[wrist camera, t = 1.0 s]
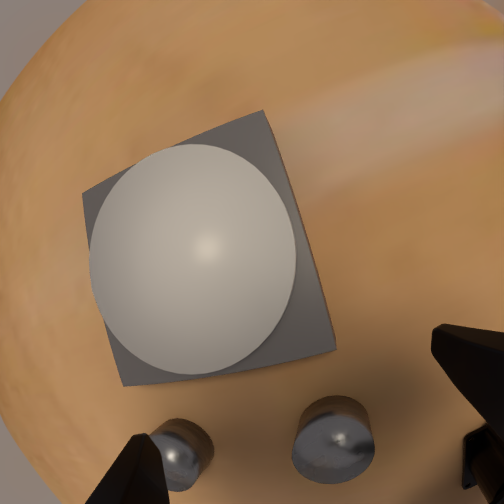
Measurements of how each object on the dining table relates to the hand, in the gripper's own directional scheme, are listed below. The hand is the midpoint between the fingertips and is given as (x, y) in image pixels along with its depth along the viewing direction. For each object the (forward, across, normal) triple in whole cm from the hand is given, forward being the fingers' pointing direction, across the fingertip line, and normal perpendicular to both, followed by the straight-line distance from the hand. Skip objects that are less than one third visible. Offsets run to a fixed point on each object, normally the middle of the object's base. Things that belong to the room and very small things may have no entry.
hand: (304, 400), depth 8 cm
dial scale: (+15, +2, 0) cm, 15 cm away
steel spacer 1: (+11, +8, +13) cm, 19 cm away
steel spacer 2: (+8, -3, +12) cm, 14 cm away
